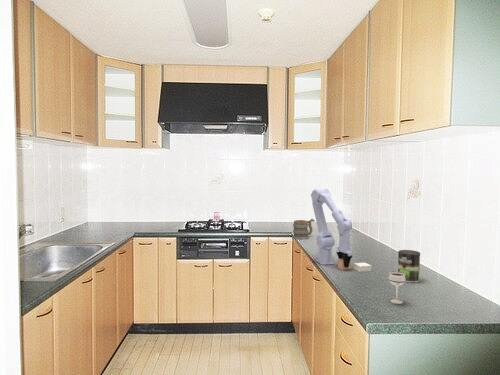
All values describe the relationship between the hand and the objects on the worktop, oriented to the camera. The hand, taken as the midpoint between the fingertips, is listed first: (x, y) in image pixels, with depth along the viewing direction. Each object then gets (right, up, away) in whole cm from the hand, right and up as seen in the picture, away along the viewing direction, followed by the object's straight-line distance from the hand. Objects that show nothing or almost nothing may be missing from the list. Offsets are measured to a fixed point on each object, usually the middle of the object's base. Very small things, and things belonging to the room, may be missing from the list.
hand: (344, 265), depth 211 cm
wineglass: (+9, -4, -53) cm, 54 cm away
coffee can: (+27, -3, -21) cm, 35 cm away
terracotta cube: (0, -1, 0) cm, 1 cm away
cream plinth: (+9, -2, -3) cm, 10 cm away
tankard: (-9, +3, +94) cm, 94 cm away
